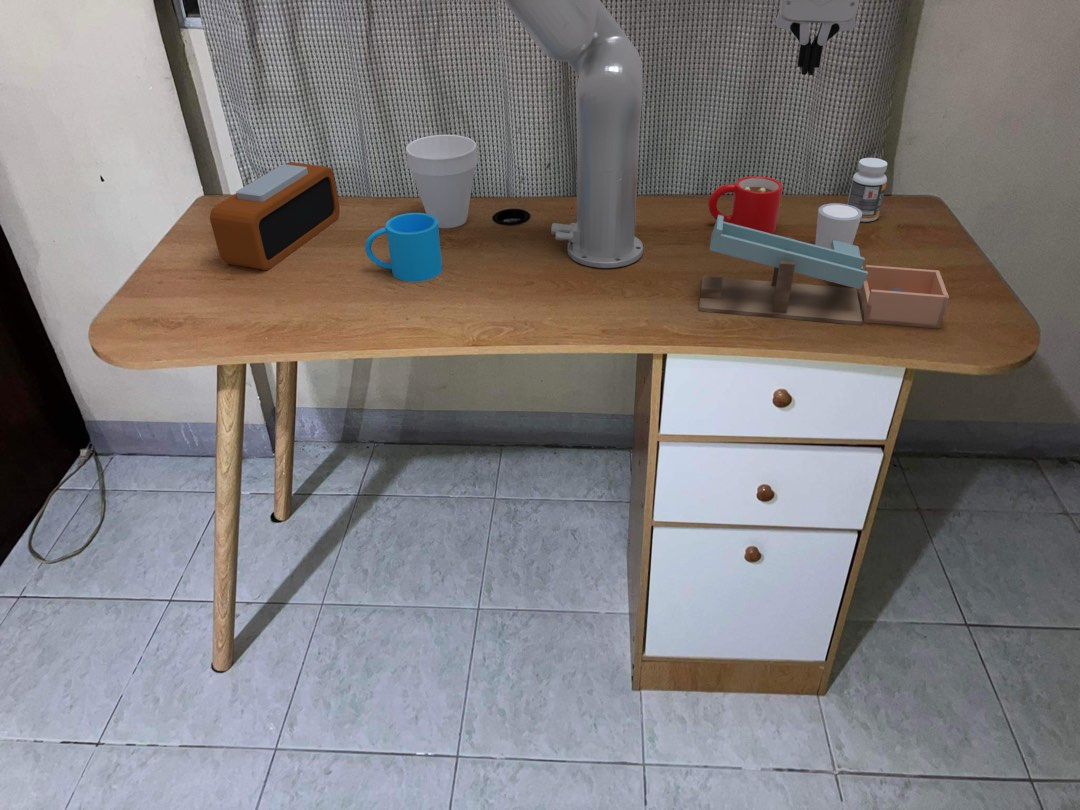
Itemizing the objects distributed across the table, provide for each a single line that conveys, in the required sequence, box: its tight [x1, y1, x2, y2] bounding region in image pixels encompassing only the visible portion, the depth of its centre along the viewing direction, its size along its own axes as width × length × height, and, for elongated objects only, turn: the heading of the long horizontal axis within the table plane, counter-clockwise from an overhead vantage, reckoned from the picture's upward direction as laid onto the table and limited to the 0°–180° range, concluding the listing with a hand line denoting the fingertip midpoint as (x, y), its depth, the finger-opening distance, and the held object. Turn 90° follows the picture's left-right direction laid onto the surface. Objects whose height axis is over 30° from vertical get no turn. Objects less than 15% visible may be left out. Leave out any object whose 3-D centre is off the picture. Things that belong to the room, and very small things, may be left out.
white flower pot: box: [405, 134, 479, 229], centre depth 147 cm, size 12×12×14 cm
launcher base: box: [698, 236, 863, 326], centre depth 122 cm, size 23×10×8 cm, turn 78°
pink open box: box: [858, 264, 950, 330], centre depth 120 cm, size 10×8×5 cm
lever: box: [709, 215, 868, 290], centre depth 122 cm, size 22×13×4 cm, turn 78°
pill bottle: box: [847, 157, 888, 223], centre depth 146 cm, size 6×6×10 cm
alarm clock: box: [209, 161, 341, 271], centre depth 142 cm, size 24×8×11 cm, turn 159°
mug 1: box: [364, 212, 443, 283], centre depth 133 cm, size 12×8×8 cm
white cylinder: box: [814, 202, 862, 249], centre depth 136 cm, size 7×7×7 cm
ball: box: [888, 288, 905, 292], centre depth 120 cm, size 3×3×3 cm
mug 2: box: [708, 175, 783, 234], centre depth 144 cm, size 8×12×8 cm, turn 82°
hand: (807, 72), depth 119 cm, fingers closed
